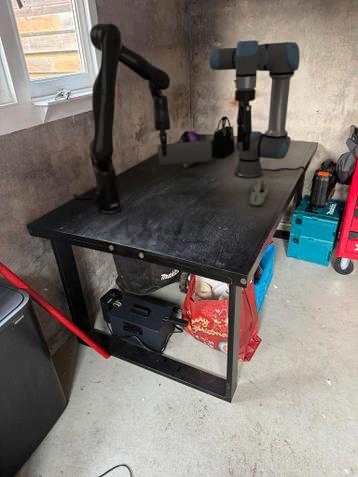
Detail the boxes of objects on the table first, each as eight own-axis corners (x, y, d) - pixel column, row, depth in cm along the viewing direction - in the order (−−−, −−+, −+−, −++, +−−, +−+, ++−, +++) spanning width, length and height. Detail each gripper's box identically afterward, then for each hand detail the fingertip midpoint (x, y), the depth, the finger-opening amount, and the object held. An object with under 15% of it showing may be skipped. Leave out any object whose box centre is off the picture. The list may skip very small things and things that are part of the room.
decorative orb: (204, 151, 235) (204, 129, 228) (194, 156, 225) (193, 134, 217) (186, 149, 243) (186, 128, 235) (175, 154, 232) (174, 132, 224)
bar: (209, 158, 171) (209, 140, 167) (211, 160, 167) (211, 143, 163) (158, 162, 170) (157, 144, 166) (159, 165, 166) (157, 147, 161)
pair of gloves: (199, 150, 238) (199, 142, 236) (185, 142, 259) (184, 136, 256) (235, 144, 248) (235, 136, 245) (218, 137, 269) (218, 130, 266)
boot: (199, 157, 223) (198, 126, 213) (193, 168, 203) (192, 135, 193) (186, 157, 225) (185, 126, 215) (179, 168, 205) (177, 135, 195)
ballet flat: (269, 188, 169) (270, 173, 165) (265, 208, 149) (266, 191, 145) (252, 187, 171) (253, 172, 167) (246, 206, 151) (247, 190, 147)
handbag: (223, 159, 216) (223, 119, 204) (210, 157, 220) (210, 119, 208) (235, 151, 231) (236, 113, 218) (223, 150, 235) (224, 113, 223)
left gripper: (154, 117, 164) (156, 151, 172) (154, 122, 151) (157, 158, 160) (169, 116, 164) (171, 150, 172) (170, 121, 151) (172, 157, 160)
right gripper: (230, 86, 133) (229, 139, 144) (240, 93, 111) (238, 155, 122) (249, 85, 133) (246, 138, 143) (262, 92, 111) (258, 154, 122)
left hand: (164, 154), depth 166 cm, fingers closed on bar, 5 cm apart
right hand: (242, 146), depth 133 cm, fingers open, 13 cm apart
